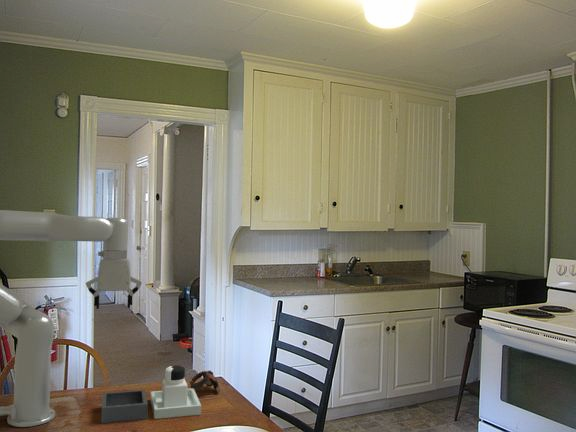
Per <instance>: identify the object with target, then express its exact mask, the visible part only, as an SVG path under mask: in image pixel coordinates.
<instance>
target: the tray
mask: <svg viewBox="0 0 576 432" xmlns="http://www.w3.org/2000/svg"><path fill="white" fill-rule="evenodd" d="M150 403H151V404H150V405H151V409H152V414H153V419H154V420H157V419H169V418H179V417H181V418H182V417H189V416H200V415H202V404H201V402H200V399H199V397H198V395H197V393H196V391H195V390H194V388H191V387H190V388H188V390H187V406H177V407H166V408H164V407H163V404H162V390H153V391H150Z"/></svg>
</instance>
